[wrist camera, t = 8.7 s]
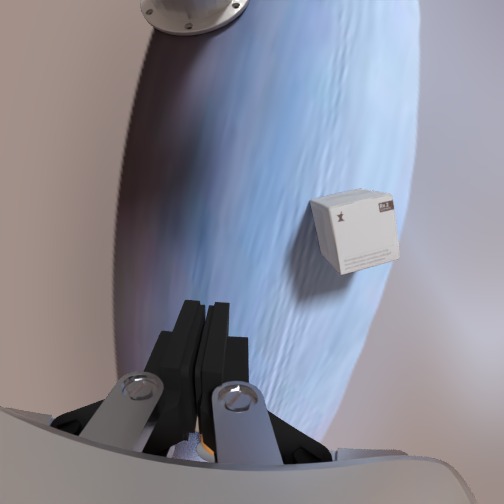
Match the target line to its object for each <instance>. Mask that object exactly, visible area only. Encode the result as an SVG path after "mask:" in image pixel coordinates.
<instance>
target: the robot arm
mask: <svg viewBox="0 0 504 504" xmlns="http://www.w3.org/2000/svg"><path fill="white" fill-rule="evenodd" d="M249 1H250V0H141V3H140V5H141V11H142V13H143V15H144V17H145V19H146V20H147V21H148V23H149V24H151V25H152V26H153V27H154V28H155V29H157V30H159V31H161V32H164V33H168V34H171V35H180V36H185V35H197V34H203V33H206V32H210V31H213V30H216V29H218V28H220V27H223V26H225V25H226V24H228V23H230V22H231V21H233V20H234V19H235V18H237V17H238V16H239V15H240V14H241V13H242V12H243V11H244V9H245V8H246V7H247V5H248V3H249ZM235 8H237V9H235ZM189 28H191V29H189ZM188 29H189V30H188ZM228 330H229V303H222V302H215V304H214V306H211V305H209V308H208V312H207V317H206V321H205V305H200V301H194V300H185V301H184V304H183V306H182V309H181V311H180V314H179V316H178V319H177V322H176V324H175V327H174V329H173V332H170V331H161V333H160V335H159V337H158V339H157V342H156V344H155V346H154V349H153V351H152V353H151V356H150V358H149V360H148V363H147V365H146V367H145V370H144V372H143V371H139V372H132V373H128V374H127V375H125V376H123V377H122V378H121V379H120V380H119V381H118V382H117V383H116V385H115V386H114V388H113V389H112V390H111V392H110V393H109V394H108V396H107V397H106V399H104V400H101V401H98V402H96V403H93V404H90V405H88V406H85V407H82V408H80V409H77V410H74V411H71V412H68V413H65V414H62V415H60V416H58V417H57V418H56V419H54V418H53V416H52V415H46V414H40V413H34V412H28V411H23V410H17V409H12V408H4V407H1V406H0V504H478V502H477V500H476V498H475V496H474V494H473V493H472V491H471V489H470V488H469V487H468V485H467V483H466V482H465V480H464V479H463V477H462V476H461V475H460V473H459V472H458V471H457V470H456V469H455V468H454V467H453V466H451V465H450V464H448V463H447V462H444V461H442V460H438V459H435V458H430V457H422V456H409V455H408V454H407V453H405V452H403V451H400V450H371V449H346V448H338V449H337V451H330V450H328V449H327V448H326V447H325V446H323V445H322V444H320V443H319V442H317V441H315V440H313V439H312V438H310V437H308V436H307V435H305V434H304V433H302V432H300V431H299V430H297V429H295V428H294V427H292V426H291V425H289V424H288V423H286V422H284V421H283V420H281V419H280V418H278V417H277V416H275V415H274V414H272V413H271V412H269V411H268V410H267V408H266V404H265V401H264V397H263V395H262V393H261V391H260V390H259V389H258V388H257V387H256V386H254V385H252V384H250V383H249V367H248V337H230V336H228ZM197 416H198V426H199V433H200V434H202V438H203V443H204V444H205V445H206V446H207V447H208V448H210V449H211V450H212V451H213V452H214V462H215V463H210V462H199V461H190V460H182V459H175V458H172V456H173V453H174V450H175V444H177V443H179V442H181V441H183V440H186V441H188V437H189V432H190V433H195V429H196V422H197Z"/></svg>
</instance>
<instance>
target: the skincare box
mask: <svg viewBox="0 0 504 504" xmlns="http://www.w3.org/2000/svg"><path fill="white" fill-rule="evenodd" d="M310 205H311V209H312V213H313V218H314V222H315V227H316V232H317V236H318V241H319V246H320V251H321V254H322V255H323V256H324V257H325V258H326V259H327V261H328V262H329V263H330V264H331V265H332V266H333V267H334V268H335V269H336V270H337V272H338V273H339V274H340V275H344V274H347V273H351V272H355V271H359V270H362V269H366V268H370V267H373V266H377V265H380V264H384V263H387V262H390V261H394V260H397V259H399V244H398V235H397V227H396V219H395V211H394V205H393V197H392V194H388V193H383V192H377V191H371V190H366V189H361V188H360V189H354V190H349V191H344V192H340V193H335V194H331V195H327V196H322V197H318V198H315V199H311V200H310Z"/></svg>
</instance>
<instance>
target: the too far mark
mask: <svg viewBox="0 0 504 504" xmlns="http://www.w3.org/2000/svg"><path fill="white" fill-rule="evenodd" d="M196 452H197V454H198V455H199V456H200V457H201V458H202V459H204V460H206V461H208V462H211V463H215V462H214V456H213V455H211V454H209V453H208V452H207V451H206V450H205V449H204V448H203V446H202V443H201V442H200V443H198V445H197V447H196Z"/></svg>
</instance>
